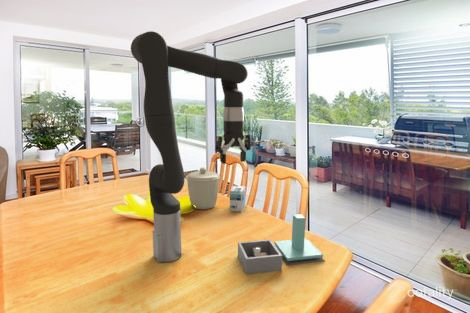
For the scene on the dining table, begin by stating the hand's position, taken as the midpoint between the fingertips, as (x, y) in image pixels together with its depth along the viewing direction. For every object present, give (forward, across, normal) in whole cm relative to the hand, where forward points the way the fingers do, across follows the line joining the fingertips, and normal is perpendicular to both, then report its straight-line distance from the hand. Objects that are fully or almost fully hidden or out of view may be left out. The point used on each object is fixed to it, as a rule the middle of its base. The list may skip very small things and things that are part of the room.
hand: (233, 162), depth 117 cm
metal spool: (+31, -1, -17) cm, 36 cm away
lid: (+30, +14, -22) cm, 40 cm away
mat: (+32, +14, -22) cm, 41 cm away
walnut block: (+31, -3, -23) cm, 39 cm away
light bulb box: (+32, +23, +32) cm, 51 cm away
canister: (+32, +9, +44) cm, 55 cm away
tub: (+32, -2, -20) cm, 38 cm away
